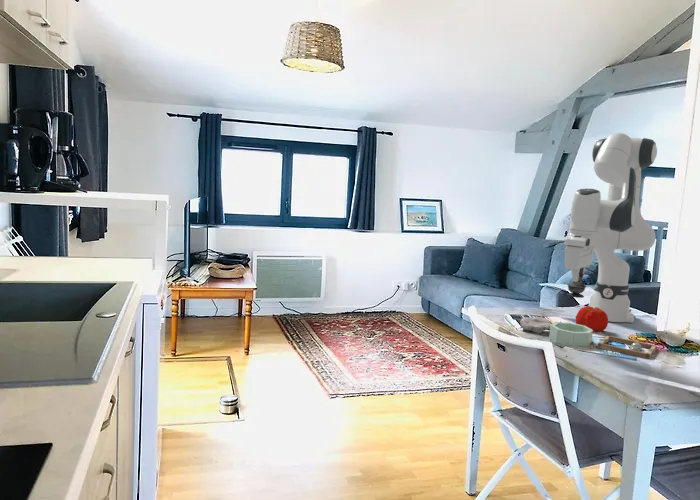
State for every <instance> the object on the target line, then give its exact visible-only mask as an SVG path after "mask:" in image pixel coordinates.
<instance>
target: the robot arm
mask: <svg viewBox="0 0 700 500" xmlns="http://www.w3.org/2000/svg"><path fill="white" fill-rule="evenodd" d="M591 152H592V153H591V156H592V161H593V162H594V163H593V165H594V166H593V170H594V172H595V175H596V176H597V177H598V178H599V179H600V180H601V181H603V182H604V183H607V184H608V191H607V199H602V198H601V191H600V190H598V189H595V188H580V189H577V190H576V191H575V193H574V195H573V200H572V203H571V209H570V224H569V227H568V233H567V235H566V237H565V238H564V246H565V249H564V268H565V270H570V271H571V275H572V276H571V277H572V278H571V282H572V281H574V282H577V281H579V271H580V268H583V267H584V268H583V274H584V275H585V271H586V267H589V266H590V265H592V264H593V261H594V254H595V255H596V257H597V261H598V270H597V271H598V272H597V273H598V274H597V281H596V282H595V285H594V286H595V287H594V288H595V289H594V290H595V291H594V292H592V293H591V294H590V297H589V302H588V306H590V307H593V308H595V307H597V308H599V309H600V308H601V310H602V311H604V312H605V313H606V314H607V317H608V322H611V323H612V322H613V323H634V322H635V318H634V316H635V315H634V313H633V312H632V310H631V309H630V306H631V300H630V298H629V296H628V294H629V289H630V288H629V287H630V286H629V279H630V278H629V276H630V269H631V268H630V264H629V263H628V262H627V261H626V260H625V259H623V258H622V257H619V256H617V255H616V254H615V250H622V251H631V252H632V251H633V252H637V251H638V252H639V251H640V252H641V251H648V250H650V249H651V248H652V247H653V246H654V244H655V241H656V238H657V237H656V232H655V230H654V228H653V227H652V226H651V225H650V224H649V223H648V222H647V221H646V220H645V219H644V217H643V216H642V213H641V210H640V197H641V196H640V194H641V187H642V186H641V185H642V171H645V169H646V168H648V167H650V166H651V165H653V164H654V162H655V160H656V158H657V155H658V147H657V144H656V142H655V141H654V140H653V139H652V138H651V139H650V138H645V137H644V138H641V137H630V136H628V134H626V133H621V132H616V133H612V134H611V135H609V136H607V137H606V138H602V139H599V140H597V141H596V142H595V143H594V145H593V148H592V151H591ZM583 278H584V277H583ZM583 278H582V280H583Z"/></svg>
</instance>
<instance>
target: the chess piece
mask: <svg viewBox="0 0 700 500" xmlns="http://www.w3.org/2000/svg"><path fill="white" fill-rule="evenodd" d="M583 268H584V267H583ZM583 268H580V271H579V281H577V282H574V281H572V280H571V282H570V283H567V288H568V291H569V292H568V293H566V296H568V297H572V298H577V299H579V298H580V299H581V298H584V297H585V296H584V295H583V292H585V290H586V288H587V285H585V284H584V283H583V279H582V278H584V276H585V273H584V274H583Z"/></svg>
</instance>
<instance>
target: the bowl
mask: <svg viewBox="0 0 700 500" xmlns="http://www.w3.org/2000/svg"><path fill="white" fill-rule="evenodd" d="M593 334H594V331H593V330H592V329H590V328H588V327H586V326H584V325H579V324H576V323H574V322H573V323H572V322H569V321H568V322H566V321H565V322H564V321H563V322H560V321H555V322H553V323H551V325H550V328H549V336H548V339H549V341H550V343H551V342H552V344H553V345H555V346H558V347H561V348H565V347H566V346H572V347H588V346H590V345H591V344H592V342H593Z"/></svg>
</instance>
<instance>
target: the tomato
mask: <svg viewBox="0 0 700 500" xmlns="http://www.w3.org/2000/svg"><path fill="white" fill-rule="evenodd" d="M575 324H579V325H584V326H586V327H588V328H590V329H592V330H593V332H604V331H605V330H606V329H607V327H608V325H609V321H608V317H607V314H606V313H605V312H604V311H602V310H601V308H600V309H599V308H597V307H595V308H593V307H590V306H589V305H587V306H583V307H581V308H580V309H579V310H578V311H577V313H576V316H575Z"/></svg>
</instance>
